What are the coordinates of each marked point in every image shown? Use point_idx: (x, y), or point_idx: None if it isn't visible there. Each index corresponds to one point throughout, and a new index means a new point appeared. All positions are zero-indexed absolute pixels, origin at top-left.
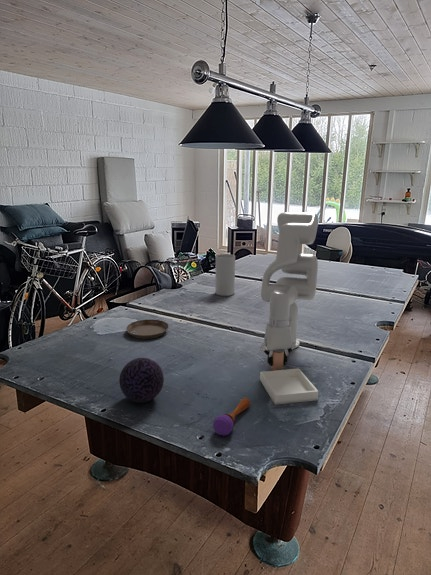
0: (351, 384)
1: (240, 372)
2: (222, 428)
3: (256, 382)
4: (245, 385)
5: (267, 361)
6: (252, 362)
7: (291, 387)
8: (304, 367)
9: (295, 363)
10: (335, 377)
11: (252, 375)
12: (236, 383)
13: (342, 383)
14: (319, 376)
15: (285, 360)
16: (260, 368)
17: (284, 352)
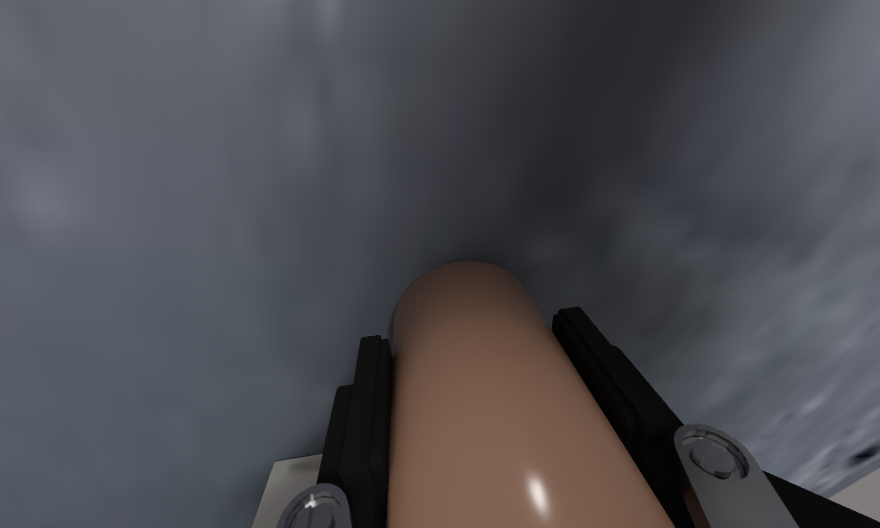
0: (846, 465)
1: (41, 352)
2: None
3: (246, 485)
4: (159, 520)
5: (338, 392)
6: (142, 77)
7: None
8: (753, 260)
9: (729, 160)
10: (839, 405)
11: (197, 401)
12: (71, 506)
13: (811, 460)
14: (751, 398)
15: None
16: (279, 269)
17: (671, 512)
